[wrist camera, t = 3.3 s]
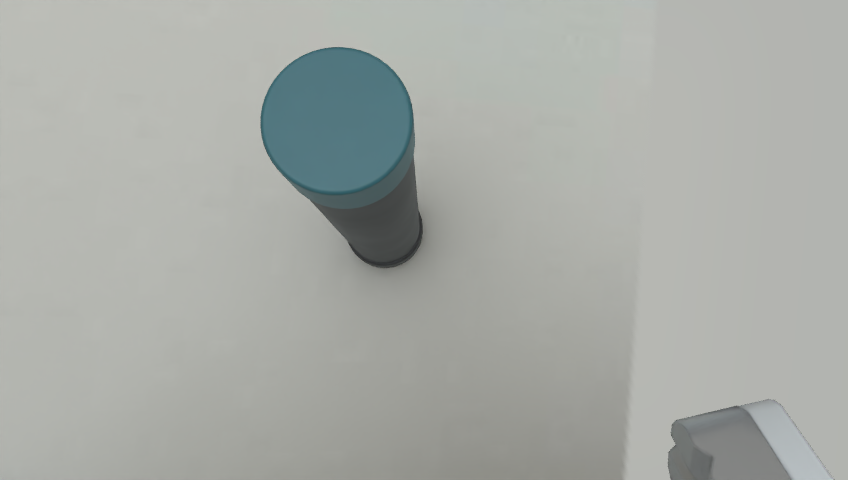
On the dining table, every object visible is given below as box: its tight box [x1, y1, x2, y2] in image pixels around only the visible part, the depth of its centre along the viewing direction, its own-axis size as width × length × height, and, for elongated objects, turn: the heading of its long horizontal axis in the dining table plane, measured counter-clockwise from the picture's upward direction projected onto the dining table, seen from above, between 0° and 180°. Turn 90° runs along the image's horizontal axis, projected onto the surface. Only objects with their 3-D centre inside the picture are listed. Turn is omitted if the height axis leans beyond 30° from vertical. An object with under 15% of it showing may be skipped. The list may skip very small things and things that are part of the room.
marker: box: [261, 47, 423, 268], centre depth 18 cm, size 3×3×13 cm
